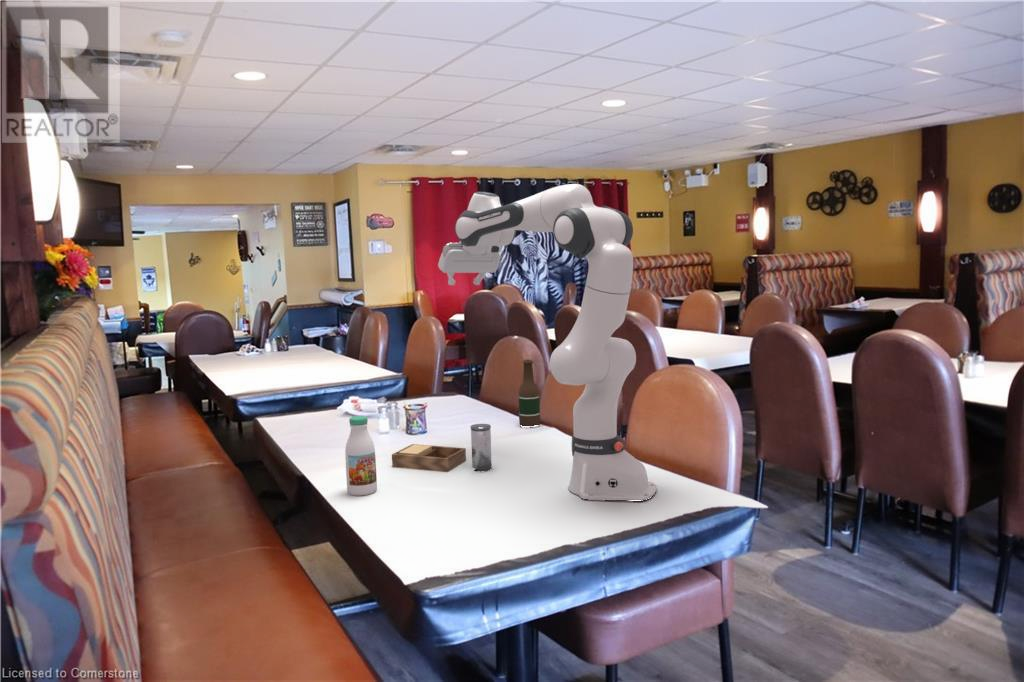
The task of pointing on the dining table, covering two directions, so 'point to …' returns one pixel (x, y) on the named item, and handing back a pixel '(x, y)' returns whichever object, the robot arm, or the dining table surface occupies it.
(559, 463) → the dining table surface
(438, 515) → the dining table surface
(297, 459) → the dining table surface
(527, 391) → the beer bottle
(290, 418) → the dining table surface
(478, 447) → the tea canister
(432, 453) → the caddy
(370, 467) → the milk bottle
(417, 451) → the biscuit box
